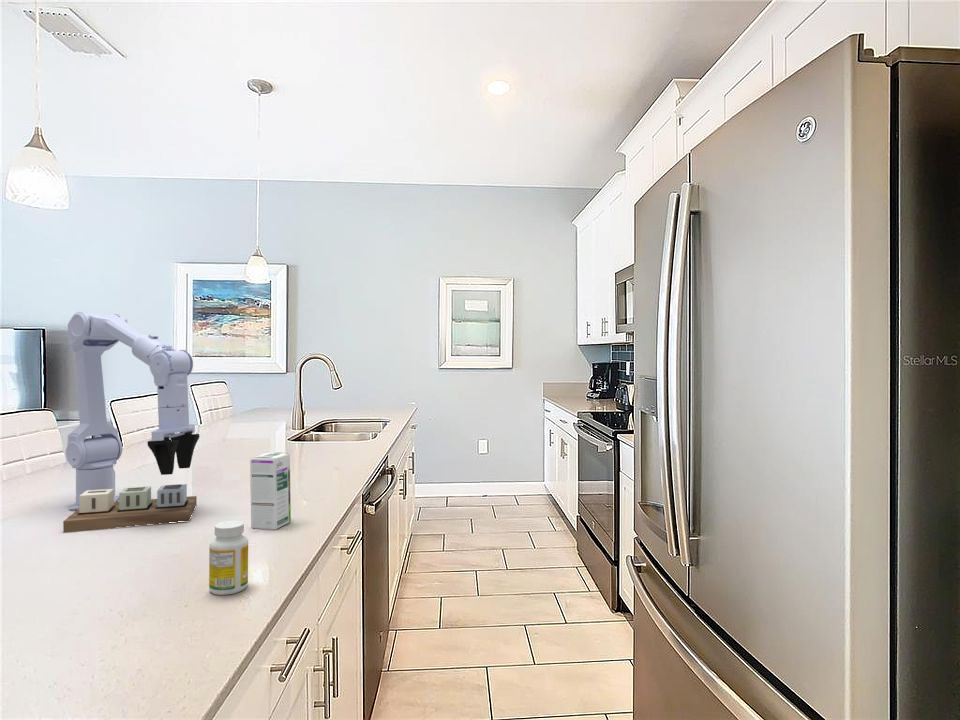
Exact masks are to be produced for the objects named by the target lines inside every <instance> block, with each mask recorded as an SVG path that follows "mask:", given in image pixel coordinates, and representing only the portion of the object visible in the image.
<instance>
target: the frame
mask: <svg viewBox="0 0 960 720" xmlns="http://www.w3.org/2000/svg"><path fill="white" fill-rule="evenodd" d="M195 506H196V507H197V495H191V496H187V500H186V502H185V504H184V505H181V506H167V507H157V498H151V503H150V504H149V506H148V507H147V508H140V509H127V510H119V500H117V501H116V502H114V505H113V506H112V507H111V508H110V509H109V510H108V511H100V512H87V513H79V509H75V510H74V512H73V513H71V514H70V515H69V516H68V517H66V519H64V520H63V521H62V522H63V524H62V525H63V526H62V527H63V531H62V532H63V533H71V532H72V533H74V532H84V531H85V532H86V531H97V530H107V529H108V528H111V529H117V528H116V527H122V528H127V527H126V526H134V527H136V526H135V525H146V526H148V525H147V524H158V525H160V524H159V523H169V522H178V521H189V522H190V520H191V518H192V516H193V514H194V512H195V510H194V508H195ZM195 509H196V508H195ZM193 511H194V512H193ZM192 513H193V514H192ZM191 515H192V516H191ZM190 517H191V518H190ZM189 519H190V520H189Z"/></svg>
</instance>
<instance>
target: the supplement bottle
mask: <svg viewBox="0 0 960 720" xmlns="http://www.w3.org/2000/svg"><path fill="white" fill-rule="evenodd" d="M244 524H245V523H244V522H243V521H241V520H226V521H221V522H218V523H216V524H215V525H214V535H215V537H214V538H213V539H212V540H211V541H210V543H209V546H208V547H209V554H208V555H209V556H208V559H209V560H208V561H209V567H208V568H209V570H208V572H209V573H208V576H209V577H208V587H209V588H208V589H209V592H210V593H211V594H214V595H218V596H224V595H225V596H226V595H232V594H236V593H239V592H240V593H241V591H244V590H245V589H246V588H247V586H248V584H249V539H248V537H247V536H246V535H243V533H244V531H245V525H244Z"/></svg>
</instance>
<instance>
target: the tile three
mask: <svg viewBox="0 0 960 720" xmlns="http://www.w3.org/2000/svg"><path fill="white" fill-rule="evenodd" d="M187 486H188V484H187V483H183V484H181V483H180V484H178V483H177V484H167V485H165V484H164V485H160V486H159V487H158V489H157V491H156V495H157V498H156V499H157V507H167V506H181V505H184V504H185V502H186V500H187V497H188V496H187V495H188V494H187V493H188V492H187V489H188V487H187Z"/></svg>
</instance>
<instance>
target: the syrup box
mask: <svg viewBox="0 0 960 720" xmlns="http://www.w3.org/2000/svg"><path fill="white" fill-rule="evenodd" d="M249 461H250V462H249V464H250V467H249V468H250V469H249V472H250V473H249V474H250V475H249V476H250V477H249V479H250V482H249V483H250V527H251V528H252V529H258V530H270V531H271V530H272V531H273V530H274V531H277V530H278V529H279V528H281V527H284V526H286V525H287V524H289V523H291V521H292V520H291V519H292V517H291V516H292V515H291V513H292V512H291V509H292V507H291V505H292V503H291V455H290V453H288V452H265V453H262V454H259V455H256V456H252V457H250V458H249Z"/></svg>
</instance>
